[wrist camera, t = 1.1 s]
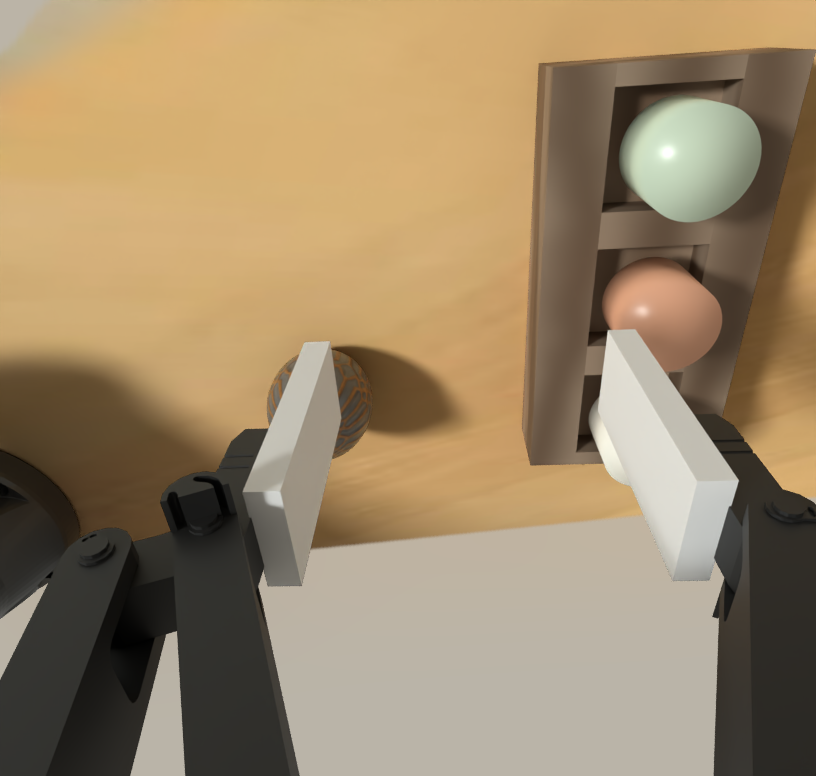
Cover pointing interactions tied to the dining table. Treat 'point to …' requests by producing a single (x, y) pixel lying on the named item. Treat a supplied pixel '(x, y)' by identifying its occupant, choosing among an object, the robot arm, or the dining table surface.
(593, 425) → the button cream
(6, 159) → the dining table surface
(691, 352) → the button terracotta
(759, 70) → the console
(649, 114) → the button sage
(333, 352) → the vase
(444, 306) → the dining table surface
